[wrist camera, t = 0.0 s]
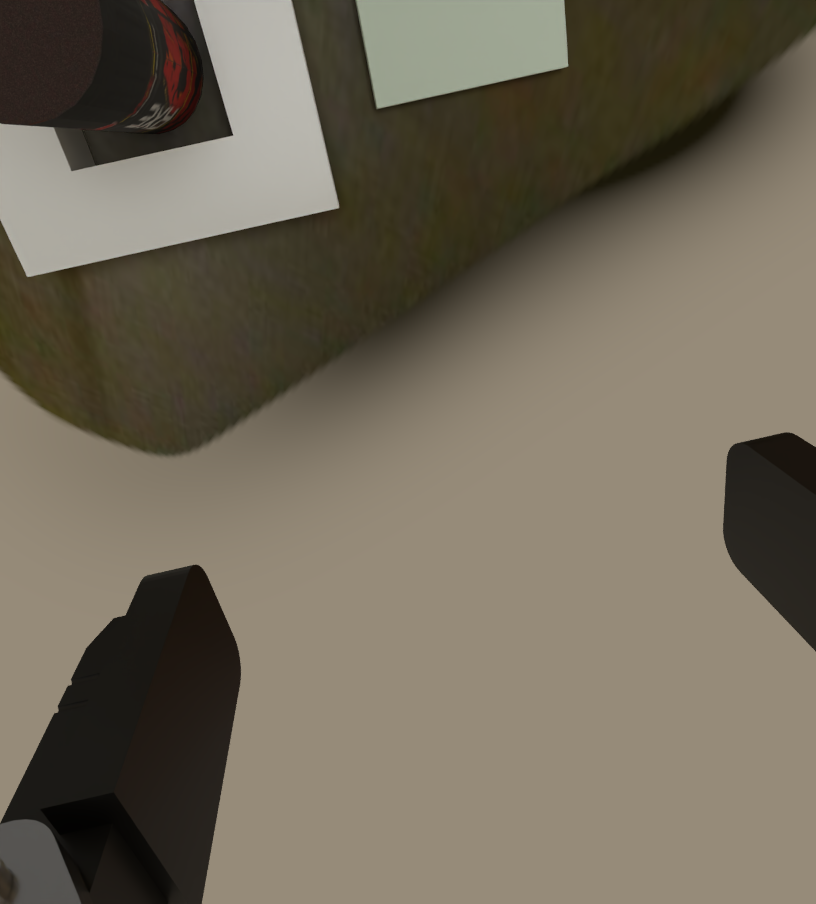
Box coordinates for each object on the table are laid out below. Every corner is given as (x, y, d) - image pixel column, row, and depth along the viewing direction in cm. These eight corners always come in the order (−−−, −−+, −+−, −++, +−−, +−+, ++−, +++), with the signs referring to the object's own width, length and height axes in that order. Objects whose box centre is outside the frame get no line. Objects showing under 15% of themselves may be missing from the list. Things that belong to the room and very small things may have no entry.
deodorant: (165, 160, 32) (46, 170, 19) (54, 76, 30) (-168, 21, 17) (226, 56, 30) (142, -13, 17) (113, -40, 28) (-84, -205, 15)
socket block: (-113, -108, 27) (-172, -141, 23) (249, -186, 27) (238, -230, 24) (55, 265, 34) (27, 277, 31) (338, 202, 34) (339, 207, 31)
